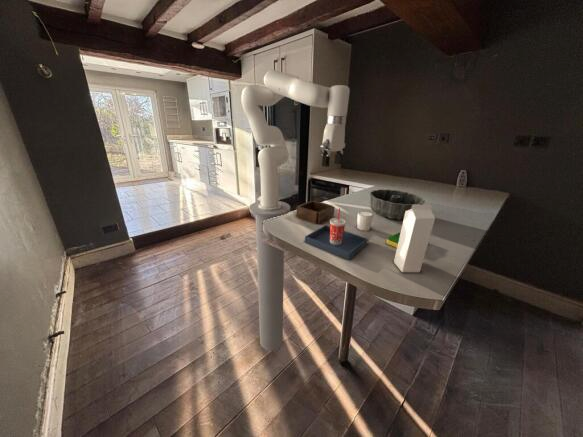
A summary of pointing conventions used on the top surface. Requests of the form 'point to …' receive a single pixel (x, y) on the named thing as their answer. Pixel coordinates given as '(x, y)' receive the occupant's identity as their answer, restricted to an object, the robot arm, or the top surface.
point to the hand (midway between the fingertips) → (331, 165)
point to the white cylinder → (364, 220)
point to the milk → (414, 238)
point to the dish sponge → (394, 240)
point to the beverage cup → (337, 230)
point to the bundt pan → (393, 202)
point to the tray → (345, 249)
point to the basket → (315, 212)
